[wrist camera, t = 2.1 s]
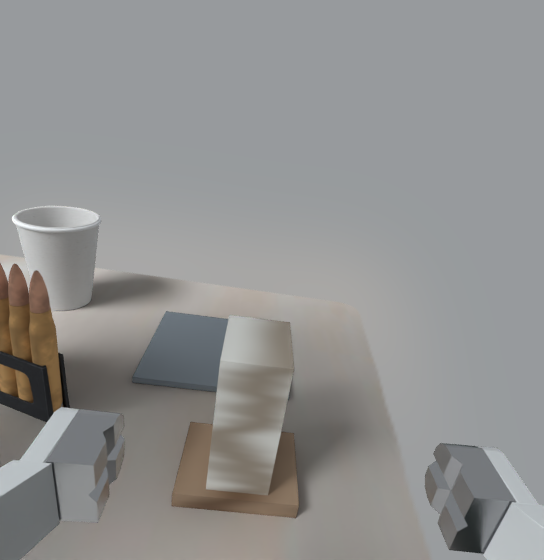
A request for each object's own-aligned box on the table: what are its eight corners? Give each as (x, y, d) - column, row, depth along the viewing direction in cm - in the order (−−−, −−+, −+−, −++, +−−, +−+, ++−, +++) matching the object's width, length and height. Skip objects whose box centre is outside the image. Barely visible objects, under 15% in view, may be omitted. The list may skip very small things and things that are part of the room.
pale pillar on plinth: (171, 506, 25) (180, 361, 20) (189, 433, 30) (199, 307, 26) (295, 518, 25) (331, 379, 21) (291, 444, 31) (318, 322, 26)
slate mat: (132, 382, 34) (132, 376, 34) (165, 315, 45) (166, 311, 45) (288, 400, 35) (289, 394, 35) (284, 330, 46) (285, 326, 46)
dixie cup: (104, 282, 50) (102, 207, 46) (103, 315, 43) (100, 229, 39) (29, 284, 47) (20, 203, 43) (15, 319, 40) (2, 226, 36)
